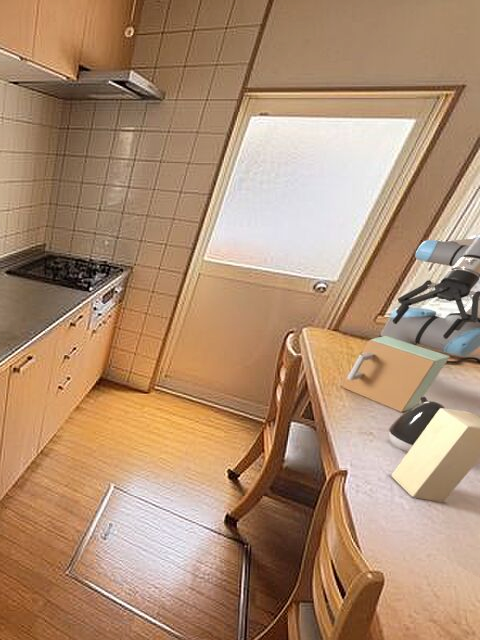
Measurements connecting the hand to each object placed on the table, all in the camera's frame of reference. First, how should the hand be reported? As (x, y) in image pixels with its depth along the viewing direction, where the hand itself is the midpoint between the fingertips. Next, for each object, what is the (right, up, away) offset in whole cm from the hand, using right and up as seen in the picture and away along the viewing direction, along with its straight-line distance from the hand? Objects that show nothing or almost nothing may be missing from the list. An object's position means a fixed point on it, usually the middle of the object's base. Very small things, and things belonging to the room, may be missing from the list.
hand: (418, 329), depth 143 cm
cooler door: (-18, -24, 0) cm, 30 cm away
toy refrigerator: (-43, -43, -40) cm, 73 cm away
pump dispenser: (-29, -36, -24) cm, 52 cm away
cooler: (-10, -23, +4) cm, 25 cm away
